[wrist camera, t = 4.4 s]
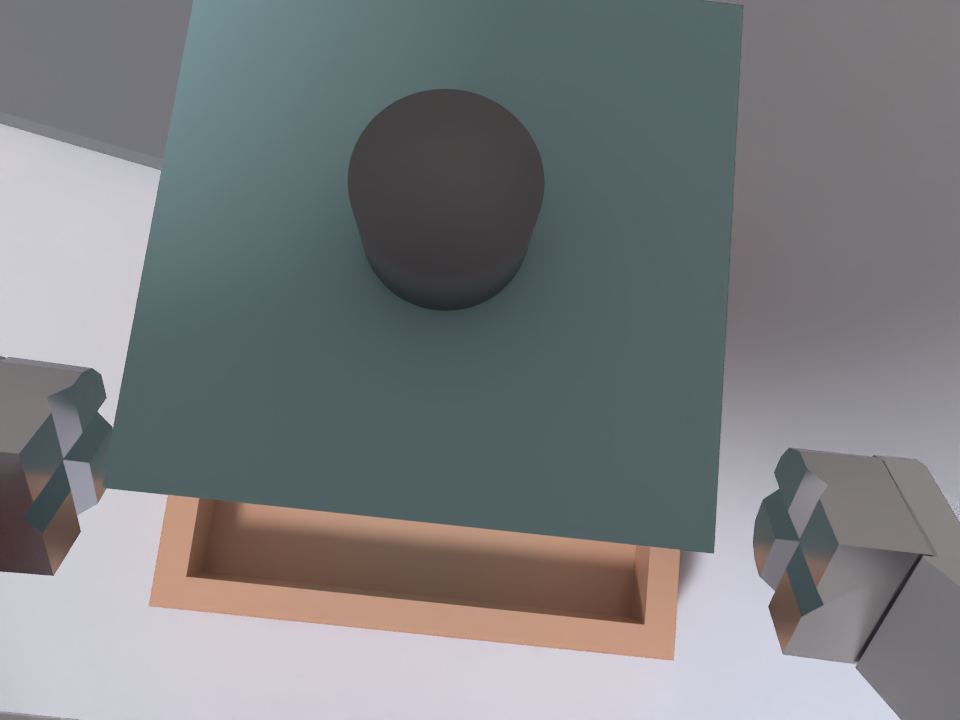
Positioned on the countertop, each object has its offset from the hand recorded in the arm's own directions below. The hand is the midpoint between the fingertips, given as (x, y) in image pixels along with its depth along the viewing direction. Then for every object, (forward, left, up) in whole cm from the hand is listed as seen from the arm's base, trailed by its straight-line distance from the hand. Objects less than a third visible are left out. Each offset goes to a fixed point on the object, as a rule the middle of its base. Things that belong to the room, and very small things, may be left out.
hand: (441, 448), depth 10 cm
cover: (0, +2, -8) cm, 8 cm away
